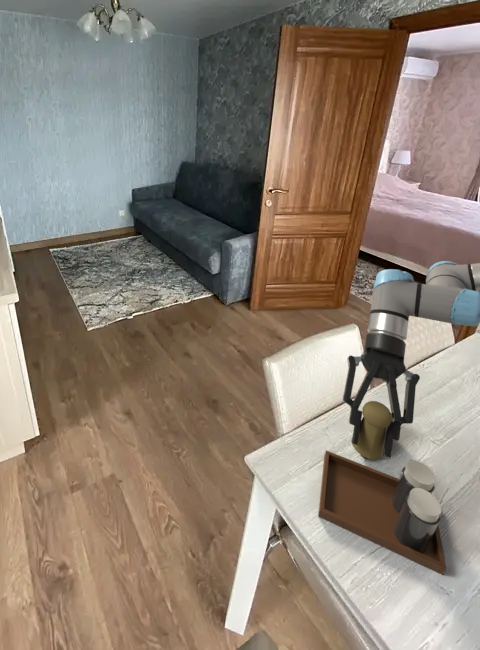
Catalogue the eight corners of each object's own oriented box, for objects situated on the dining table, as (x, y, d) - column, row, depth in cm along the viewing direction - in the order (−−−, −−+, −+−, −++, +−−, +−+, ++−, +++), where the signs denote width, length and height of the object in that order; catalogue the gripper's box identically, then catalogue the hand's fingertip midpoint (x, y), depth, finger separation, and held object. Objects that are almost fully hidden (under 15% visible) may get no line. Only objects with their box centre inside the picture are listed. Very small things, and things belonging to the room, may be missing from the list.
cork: (354, 428, 77) (364, 391, 73) (384, 443, 74) (397, 405, 70) (348, 448, 73) (359, 410, 69) (380, 465, 70) (394, 426, 65)
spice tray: (428, 499, 76) (432, 492, 75) (442, 577, 63) (446, 569, 62) (324, 457, 85) (325, 450, 84) (317, 518, 72) (319, 510, 71)
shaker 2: (424, 529, 70) (440, 494, 66) (428, 559, 65) (446, 524, 61) (392, 515, 72) (406, 481, 68) (394, 543, 67) (409, 508, 63)
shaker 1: (420, 500, 75) (434, 466, 71) (423, 526, 70) (440, 491, 66) (390, 488, 77) (403, 454, 73) (392, 512, 73) (406, 478, 68)
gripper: (429, 352, 76) (418, 467, 69) (339, 329, 83) (321, 430, 76) (441, 346, 69) (430, 473, 62) (343, 322, 77) (323, 432, 70)
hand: (370, 449), depth 69 cm, fingers closed on cork, 5 cm apart
